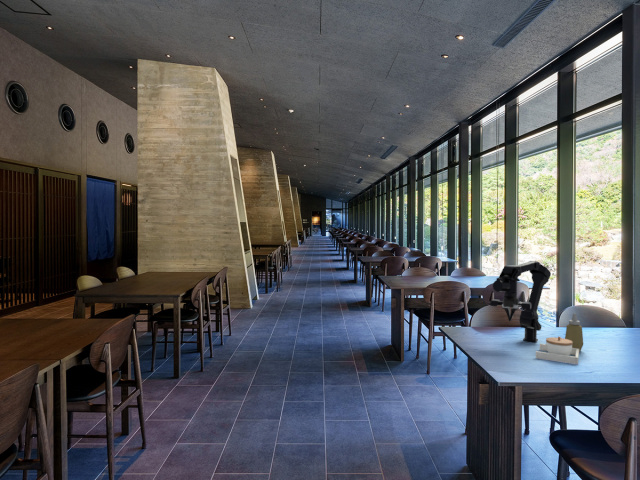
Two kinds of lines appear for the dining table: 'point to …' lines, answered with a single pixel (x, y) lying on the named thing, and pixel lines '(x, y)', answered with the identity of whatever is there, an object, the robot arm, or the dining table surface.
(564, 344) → the lidded jar
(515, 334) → the dining table surface
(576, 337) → the squeeze bottle
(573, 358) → the box
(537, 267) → the robot arm
